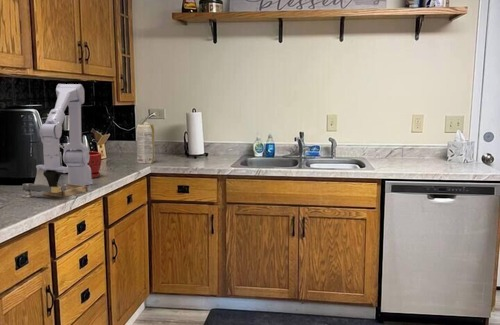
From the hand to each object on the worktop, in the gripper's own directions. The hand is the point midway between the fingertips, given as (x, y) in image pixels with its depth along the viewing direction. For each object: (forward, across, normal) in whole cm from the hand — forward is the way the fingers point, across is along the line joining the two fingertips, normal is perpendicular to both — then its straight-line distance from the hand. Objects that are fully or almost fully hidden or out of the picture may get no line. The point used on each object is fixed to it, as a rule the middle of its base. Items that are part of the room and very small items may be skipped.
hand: (53, 189), depth 179 cm
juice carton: (+3, -27, +93) cm, 97 cm away
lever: (0, -3, -3) cm, 4 cm away
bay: (+3, -2, +8) cm, 9 cm away
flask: (+3, -16, +8) cm, 18 cm away
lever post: (+3, -10, -4) cm, 11 cm away
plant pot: (+3, -21, +40) cm, 45 cm away
